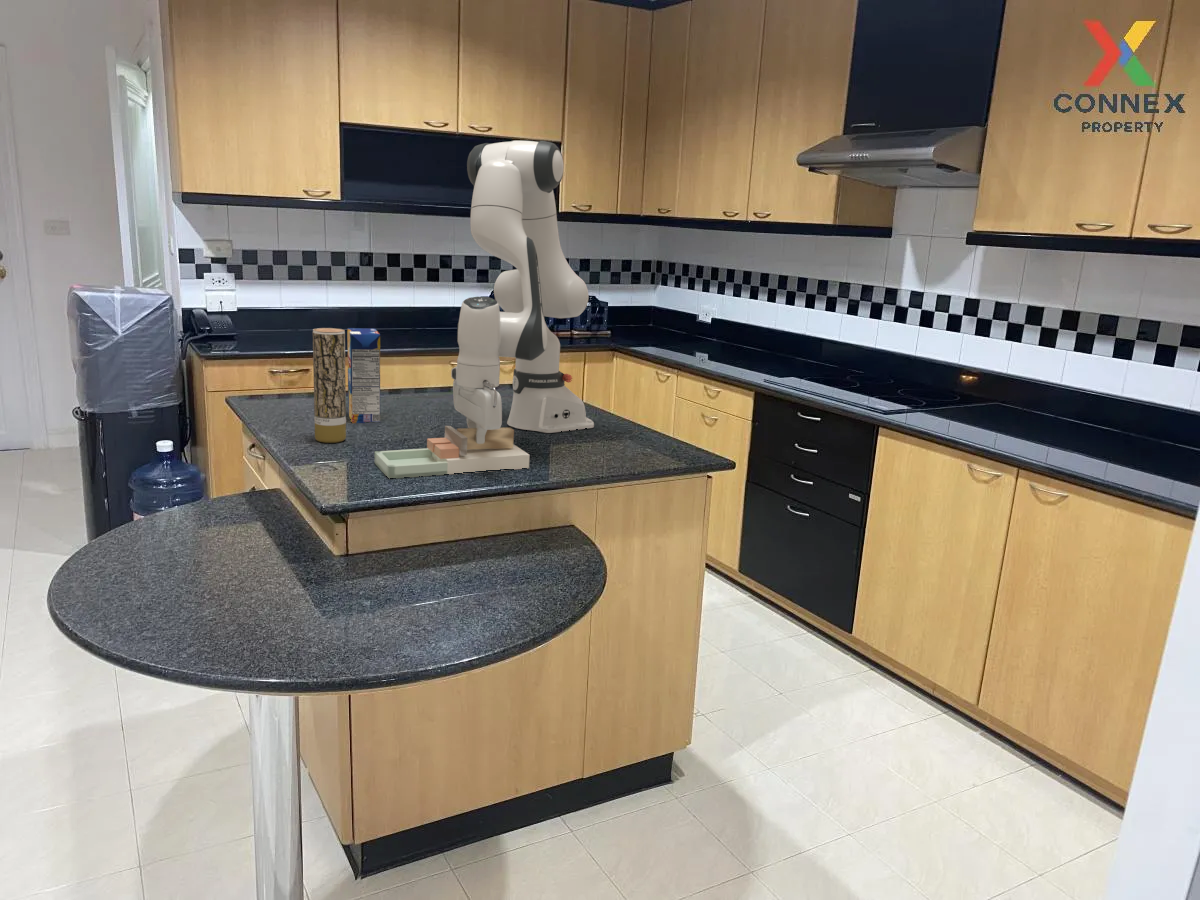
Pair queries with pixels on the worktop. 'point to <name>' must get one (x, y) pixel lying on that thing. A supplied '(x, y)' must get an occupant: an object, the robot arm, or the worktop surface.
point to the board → (487, 460)
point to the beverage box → (363, 375)
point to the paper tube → (329, 384)
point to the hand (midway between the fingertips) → (476, 440)
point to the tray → (409, 463)
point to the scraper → (466, 441)
